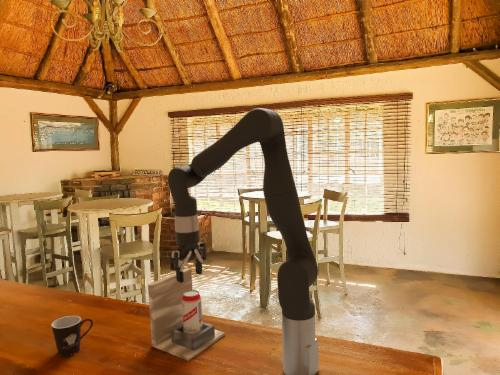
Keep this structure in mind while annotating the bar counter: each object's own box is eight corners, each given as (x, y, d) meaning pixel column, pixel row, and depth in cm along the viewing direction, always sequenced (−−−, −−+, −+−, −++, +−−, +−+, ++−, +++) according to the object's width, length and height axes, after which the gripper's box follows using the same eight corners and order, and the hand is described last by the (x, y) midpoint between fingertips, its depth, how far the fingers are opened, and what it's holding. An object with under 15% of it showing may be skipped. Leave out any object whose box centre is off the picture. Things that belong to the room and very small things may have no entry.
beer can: (199, 345, 126) (197, 297, 124) (181, 343, 127) (178, 296, 125) (205, 335, 132) (203, 289, 130) (187, 334, 133) (185, 288, 131)
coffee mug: (51, 360, 121) (48, 330, 120) (57, 346, 130) (54, 318, 128) (91, 354, 124) (89, 324, 123) (94, 340, 133) (92, 312, 131)
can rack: (152, 346, 128) (147, 284, 125) (190, 324, 142) (187, 268, 140) (188, 360, 119) (184, 294, 116) (224, 335, 133) (222, 275, 131)
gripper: (179, 235, 117) (182, 287, 119) (210, 225, 128) (213, 273, 130) (162, 232, 121) (165, 283, 123) (193, 223, 133) (196, 269, 135)
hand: (190, 278), depth 127 cm, fingers open, 8 cm apart
